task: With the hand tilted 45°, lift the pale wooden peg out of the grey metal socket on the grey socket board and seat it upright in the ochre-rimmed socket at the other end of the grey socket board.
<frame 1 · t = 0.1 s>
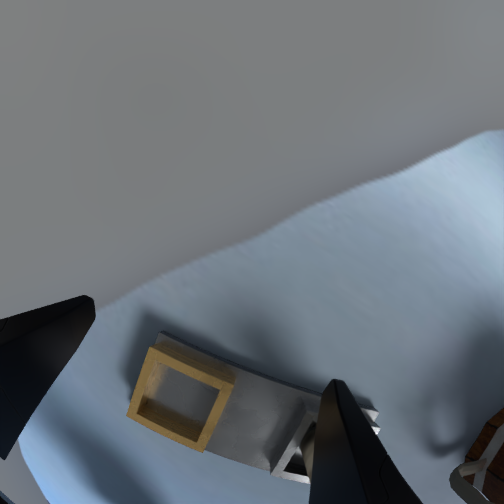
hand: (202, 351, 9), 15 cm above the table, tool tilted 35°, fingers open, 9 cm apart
mug: (482, 449, 20), on the table
peg: (322, 444, 21), point 1 cm above the table, touching grey socket board
grey socket board: (254, 419, 22), on the table
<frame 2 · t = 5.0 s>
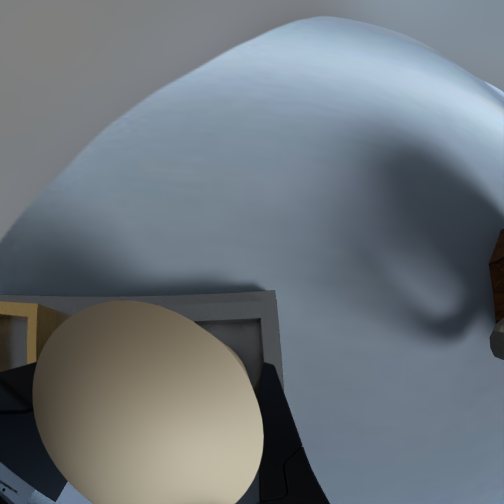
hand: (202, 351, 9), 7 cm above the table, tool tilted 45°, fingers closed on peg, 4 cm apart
peg: (208, 377, 14), point 1 cm above the table, touching gripper, grey socket board
grey socket board: (103, 372, 14), on the table
when the fingers open (8 cm above the table, at t = 9.2 s): peg drops 1 cm, resting on grey socket board.
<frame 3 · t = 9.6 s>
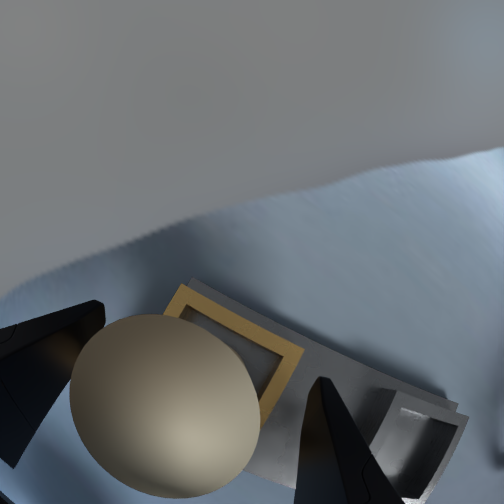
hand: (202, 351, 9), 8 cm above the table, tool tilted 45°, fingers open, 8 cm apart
peg: (211, 375, 15), point 1 cm above the table, touching grey socket board
grey socket board: (309, 419, 15), on the table
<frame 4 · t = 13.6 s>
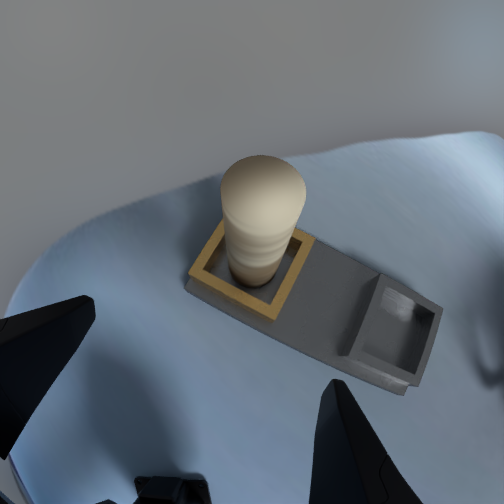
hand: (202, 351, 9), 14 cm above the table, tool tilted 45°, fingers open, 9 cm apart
peg: (252, 263, 23), point 1 cm above the table, touching grey socket board
grey socket board: (321, 303, 24), on the table
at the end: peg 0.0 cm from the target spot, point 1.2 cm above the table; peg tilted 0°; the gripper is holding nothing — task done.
